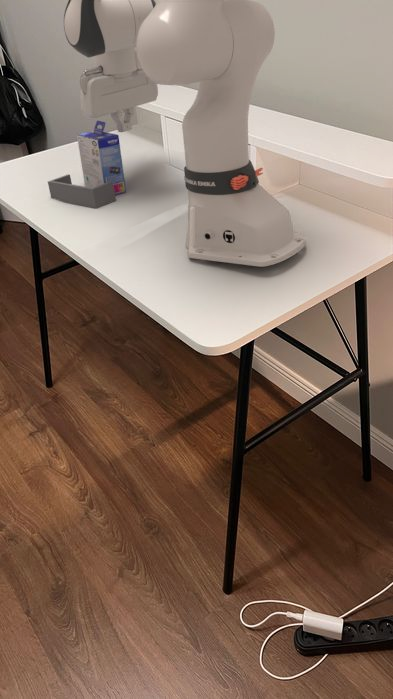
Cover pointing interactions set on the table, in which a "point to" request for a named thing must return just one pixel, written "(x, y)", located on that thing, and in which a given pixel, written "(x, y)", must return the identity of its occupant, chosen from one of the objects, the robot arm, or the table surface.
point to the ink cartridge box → (101, 158)
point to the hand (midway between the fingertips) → (125, 130)
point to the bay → (81, 192)
